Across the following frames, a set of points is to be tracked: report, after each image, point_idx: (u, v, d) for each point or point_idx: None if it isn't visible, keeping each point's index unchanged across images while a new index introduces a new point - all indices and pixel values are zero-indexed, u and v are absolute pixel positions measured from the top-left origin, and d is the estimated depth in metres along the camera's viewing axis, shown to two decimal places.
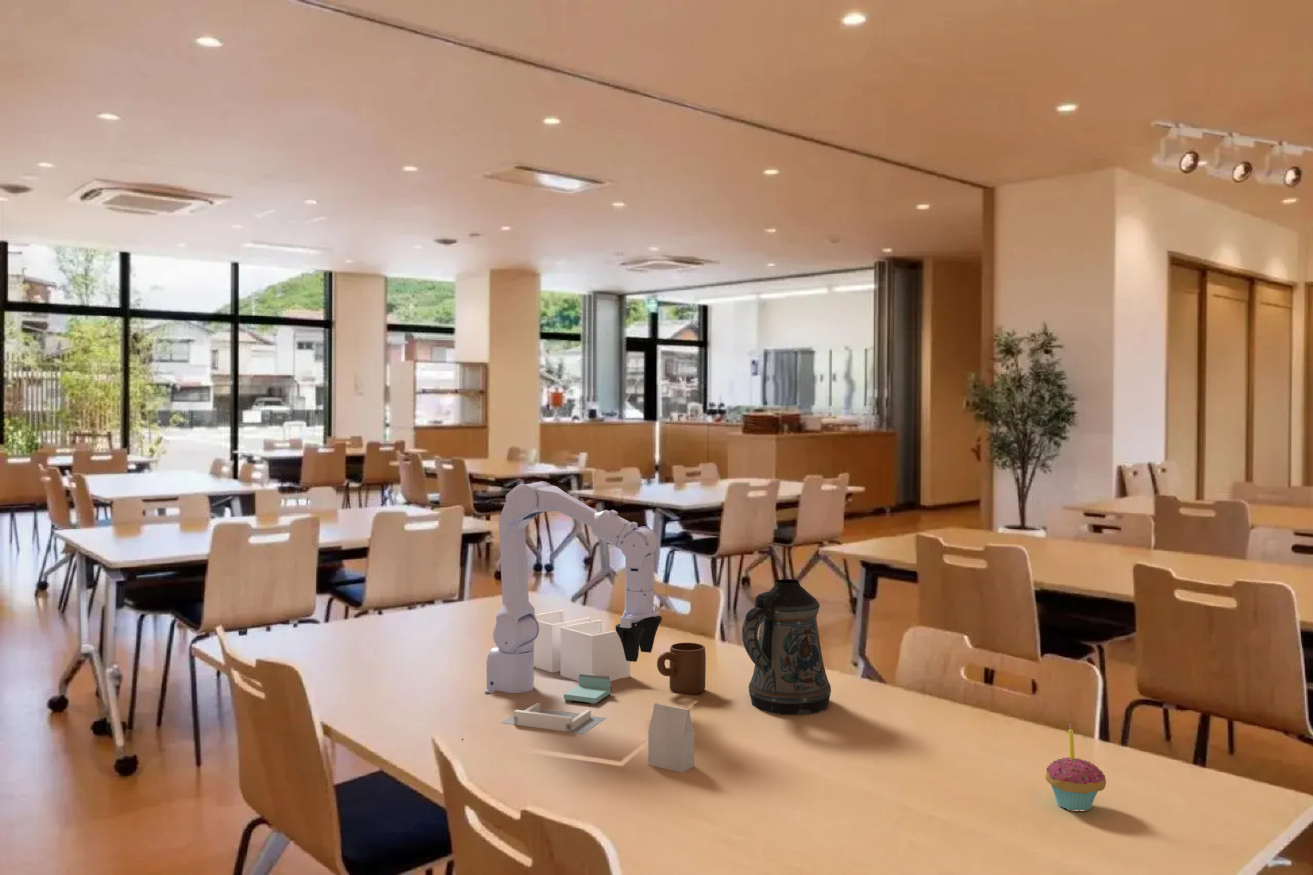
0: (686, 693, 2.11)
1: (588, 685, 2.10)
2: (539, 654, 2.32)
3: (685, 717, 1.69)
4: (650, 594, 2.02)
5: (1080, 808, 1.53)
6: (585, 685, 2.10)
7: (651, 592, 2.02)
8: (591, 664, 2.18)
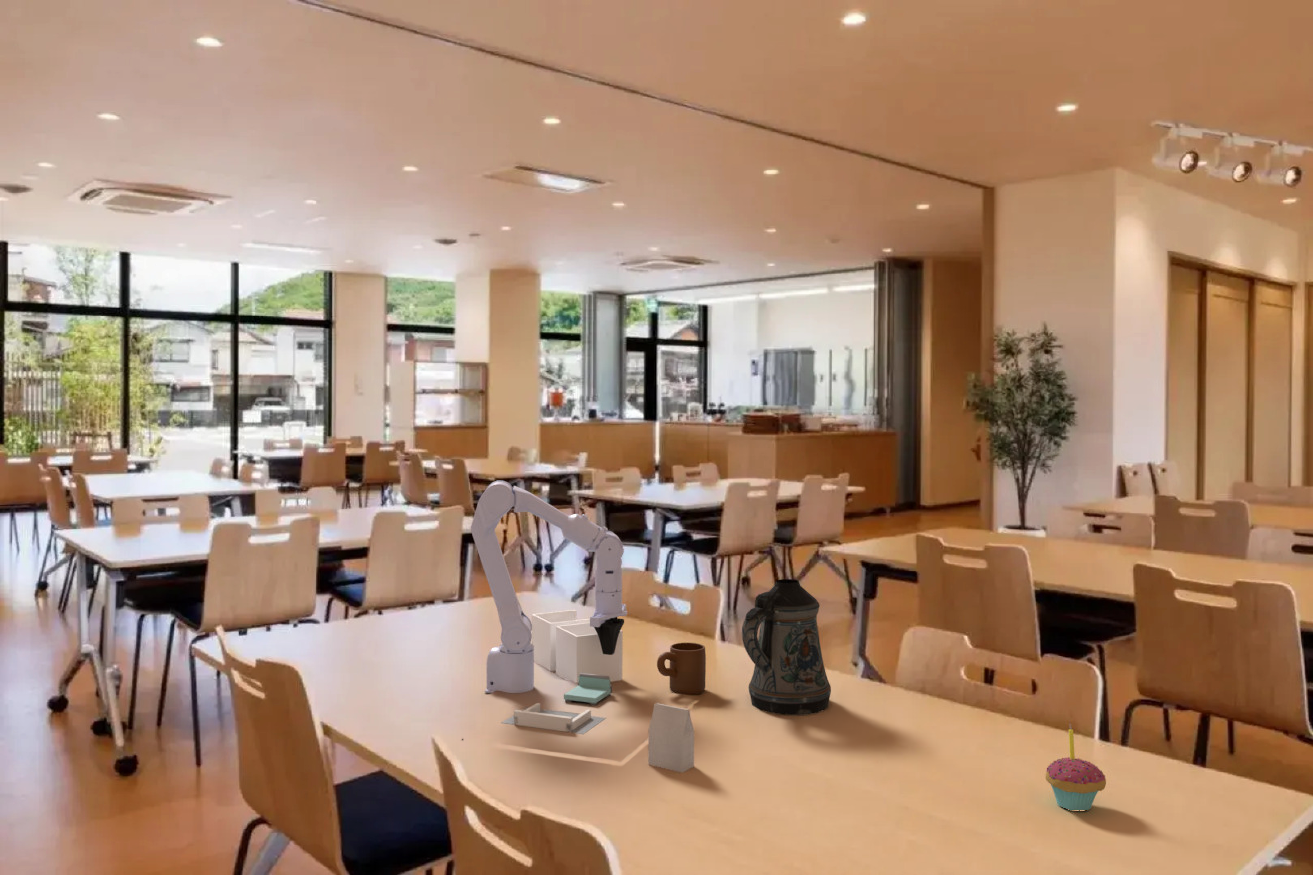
0: (686, 693, 2.11)
1: (588, 685, 2.10)
2: (542, 652, 2.34)
3: (685, 717, 1.69)
4: (618, 595, 2.14)
5: (1080, 808, 1.53)
6: (585, 685, 2.10)
7: (619, 593, 2.14)
8: (576, 665, 2.18)
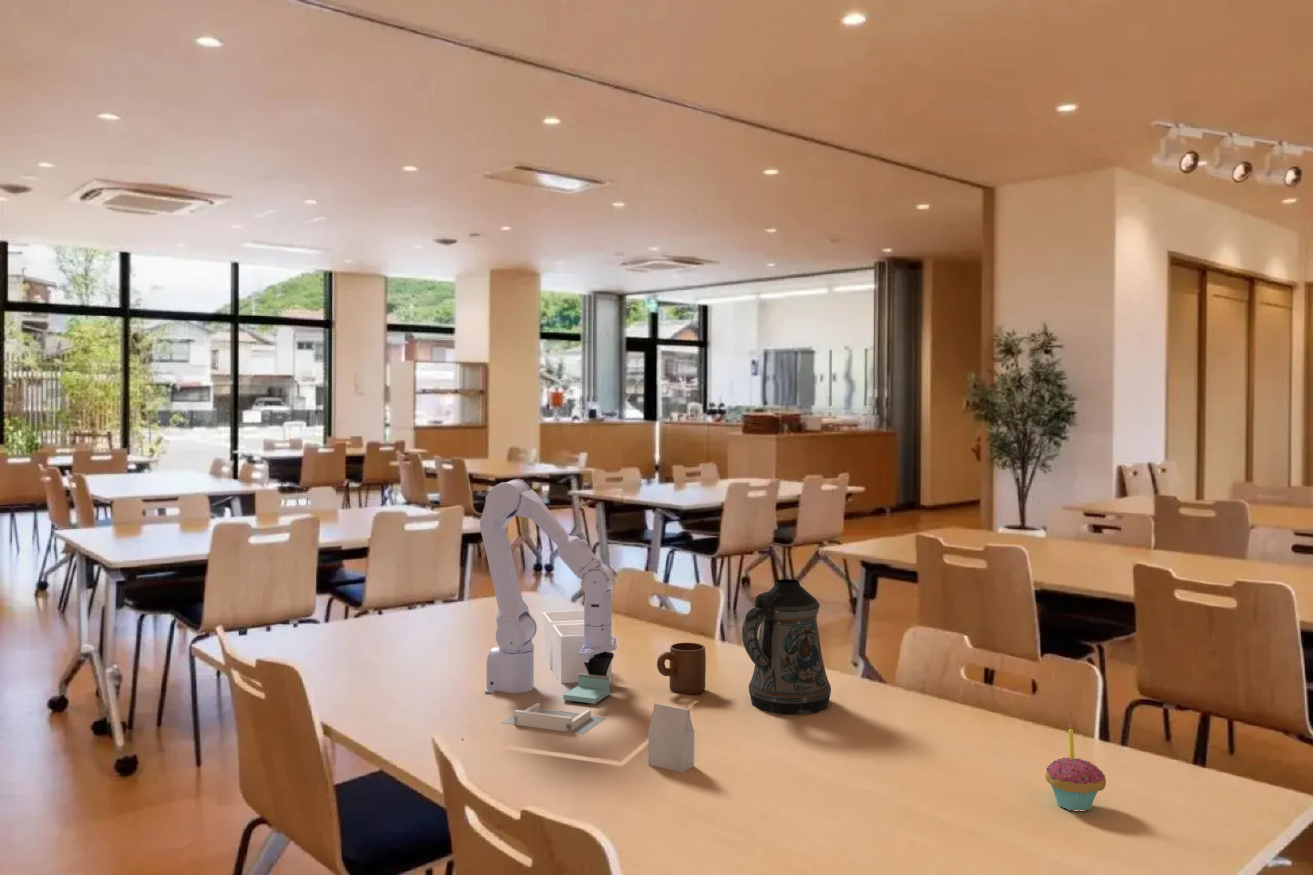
0: (686, 693, 2.11)
1: (587, 685, 2.10)
2: (547, 650, 2.36)
3: (685, 717, 1.69)
4: (608, 629, 2.09)
5: (1080, 808, 1.53)
6: (584, 685, 2.10)
7: (609, 627, 2.09)
8: (561, 665, 2.18)
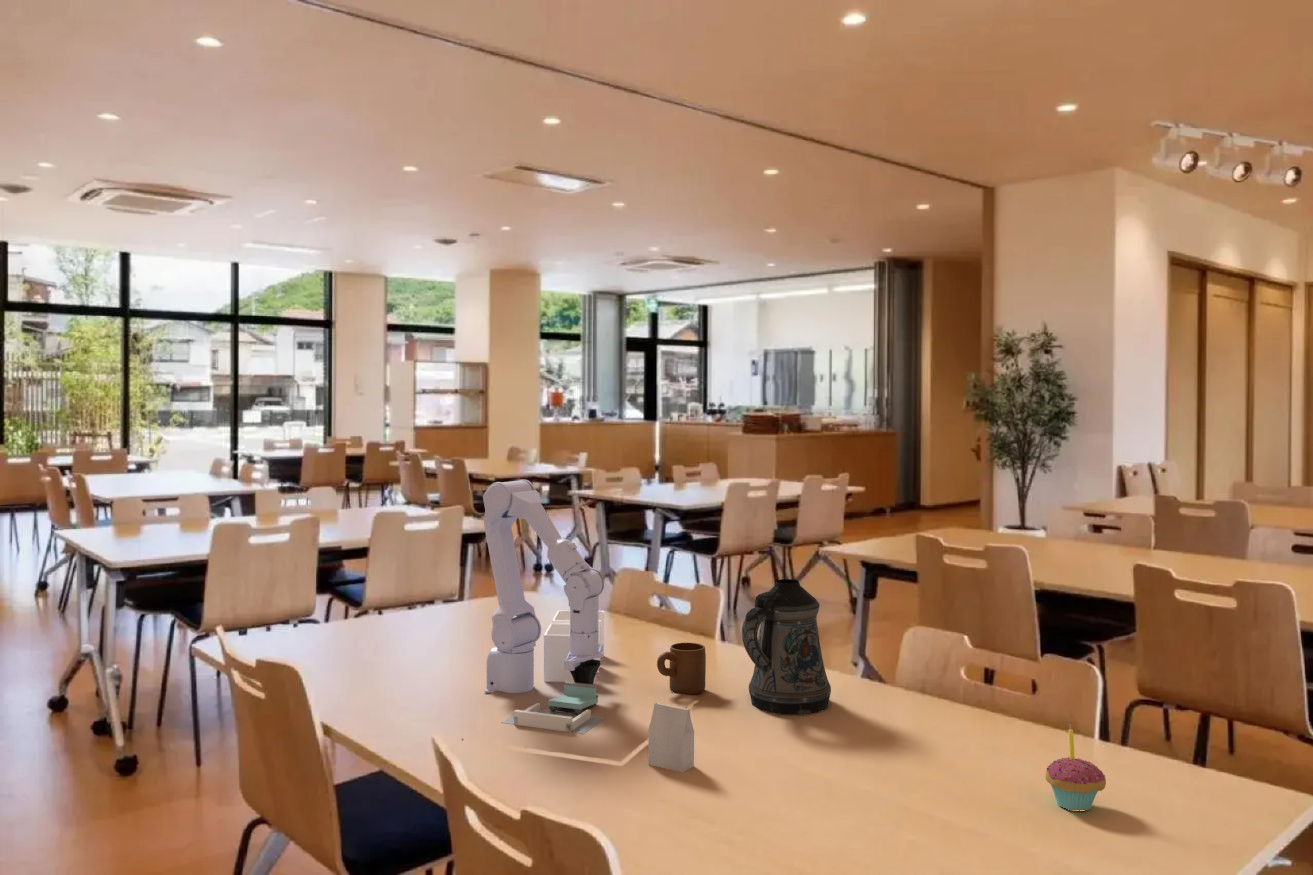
0: (686, 693, 2.11)
1: (573, 694, 2.03)
2: None
3: (685, 717, 1.69)
4: (594, 636, 2.03)
5: (1080, 808, 1.53)
6: (570, 694, 2.03)
7: (595, 634, 2.03)
8: (544, 663, 2.19)
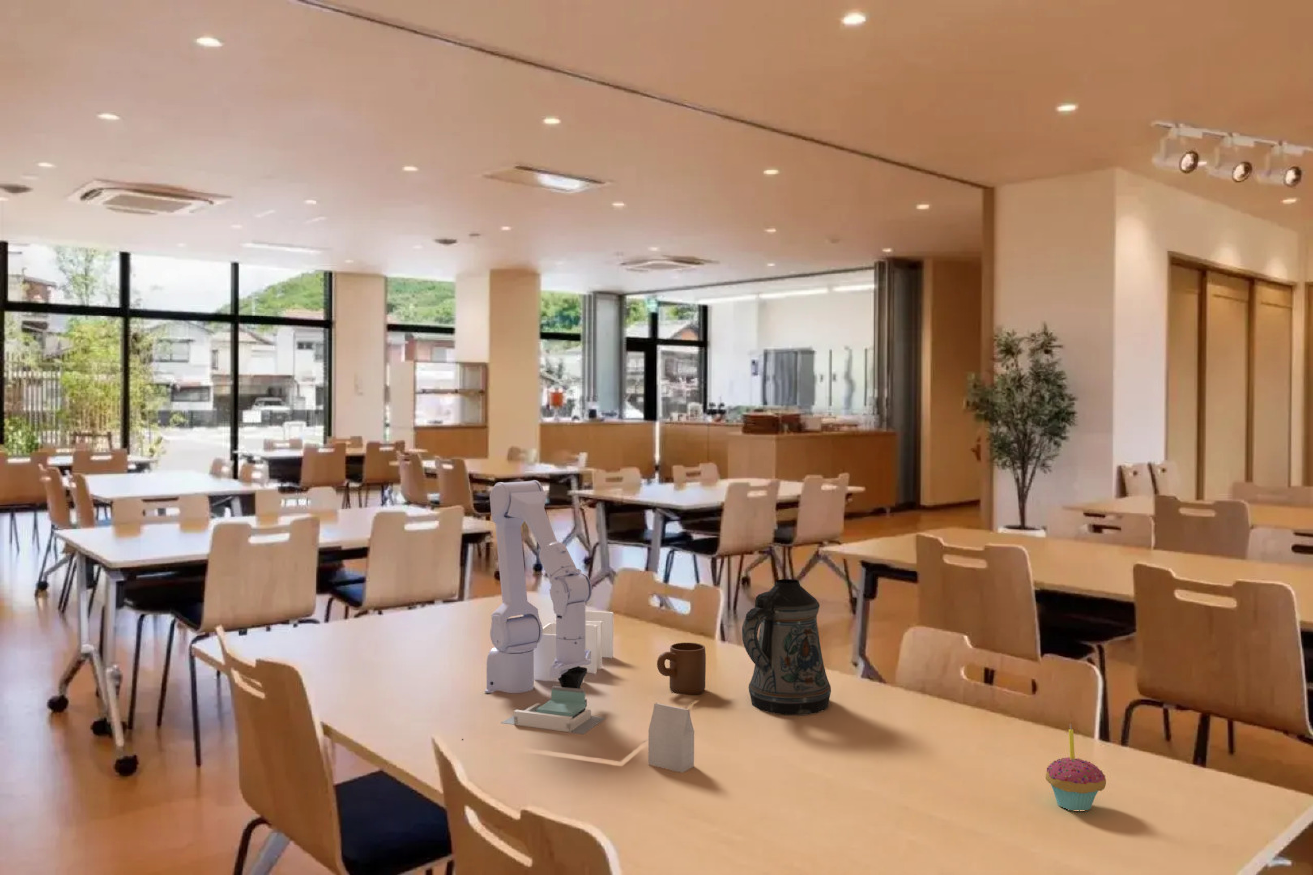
0: (686, 693, 2.11)
1: (561, 699, 1.98)
2: None
3: (685, 717, 1.69)
4: (581, 642, 1.97)
5: (1080, 808, 1.53)
6: (558, 699, 1.98)
7: (582, 640, 1.97)
8: None
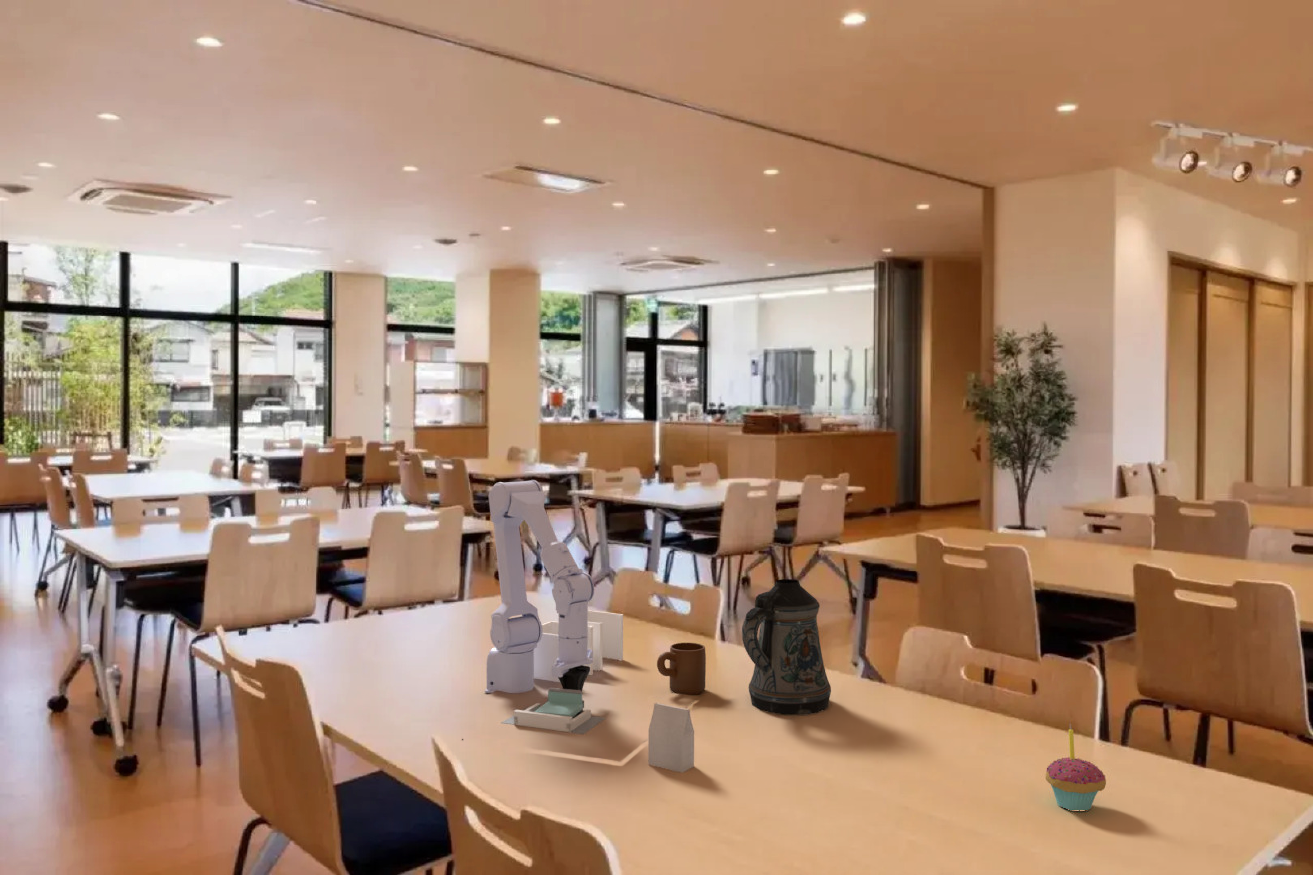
0: (686, 693, 2.11)
1: (558, 701, 1.97)
2: None
3: (685, 717, 1.69)
4: (583, 641, 1.98)
5: (1080, 808, 1.53)
6: (555, 701, 1.97)
7: (584, 639, 1.98)
8: None
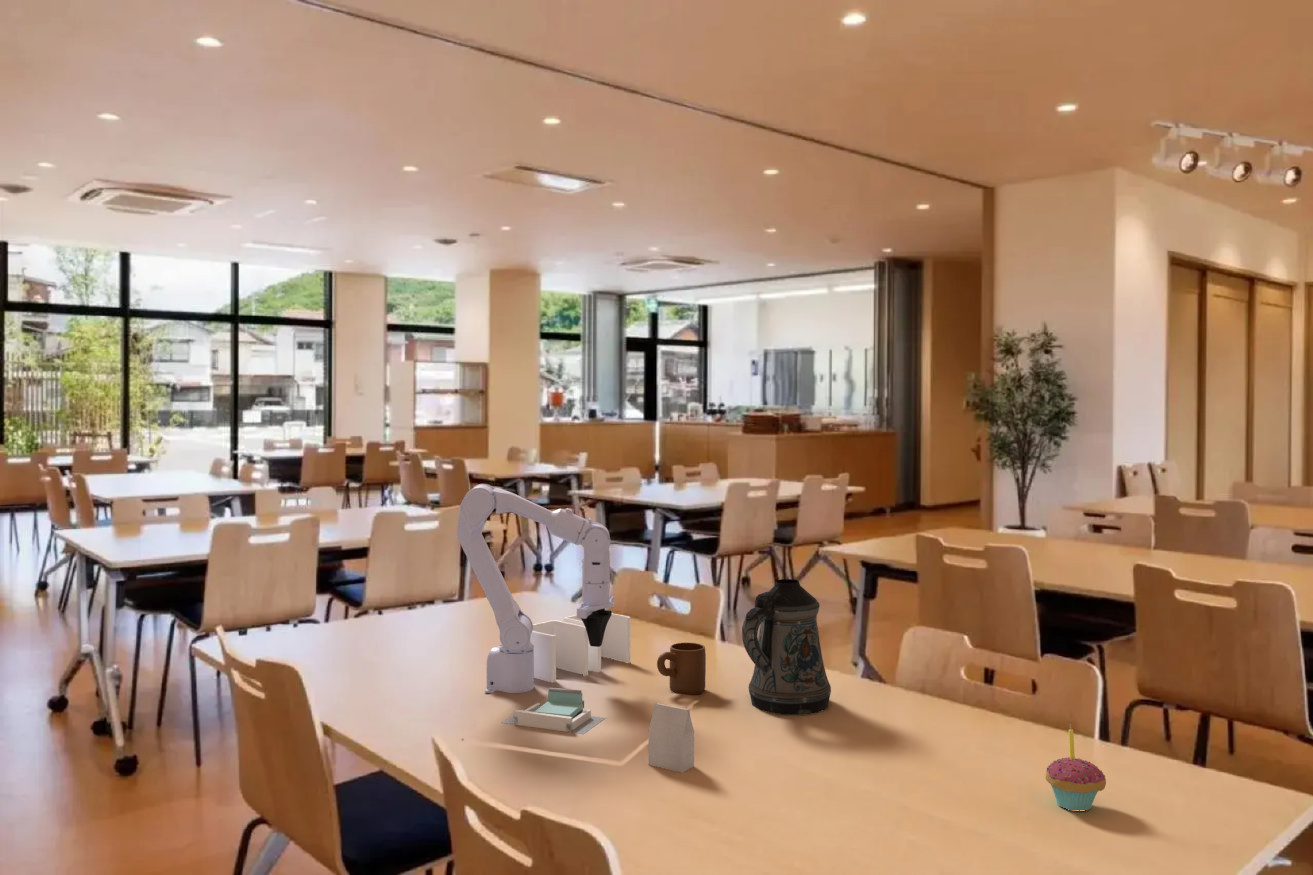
0: (686, 693, 2.11)
1: (558, 701, 1.97)
2: None
3: (685, 717, 1.69)
4: (606, 586, 2.13)
5: (1080, 808, 1.53)
6: (555, 701, 1.97)
7: (607, 584, 2.13)
8: None
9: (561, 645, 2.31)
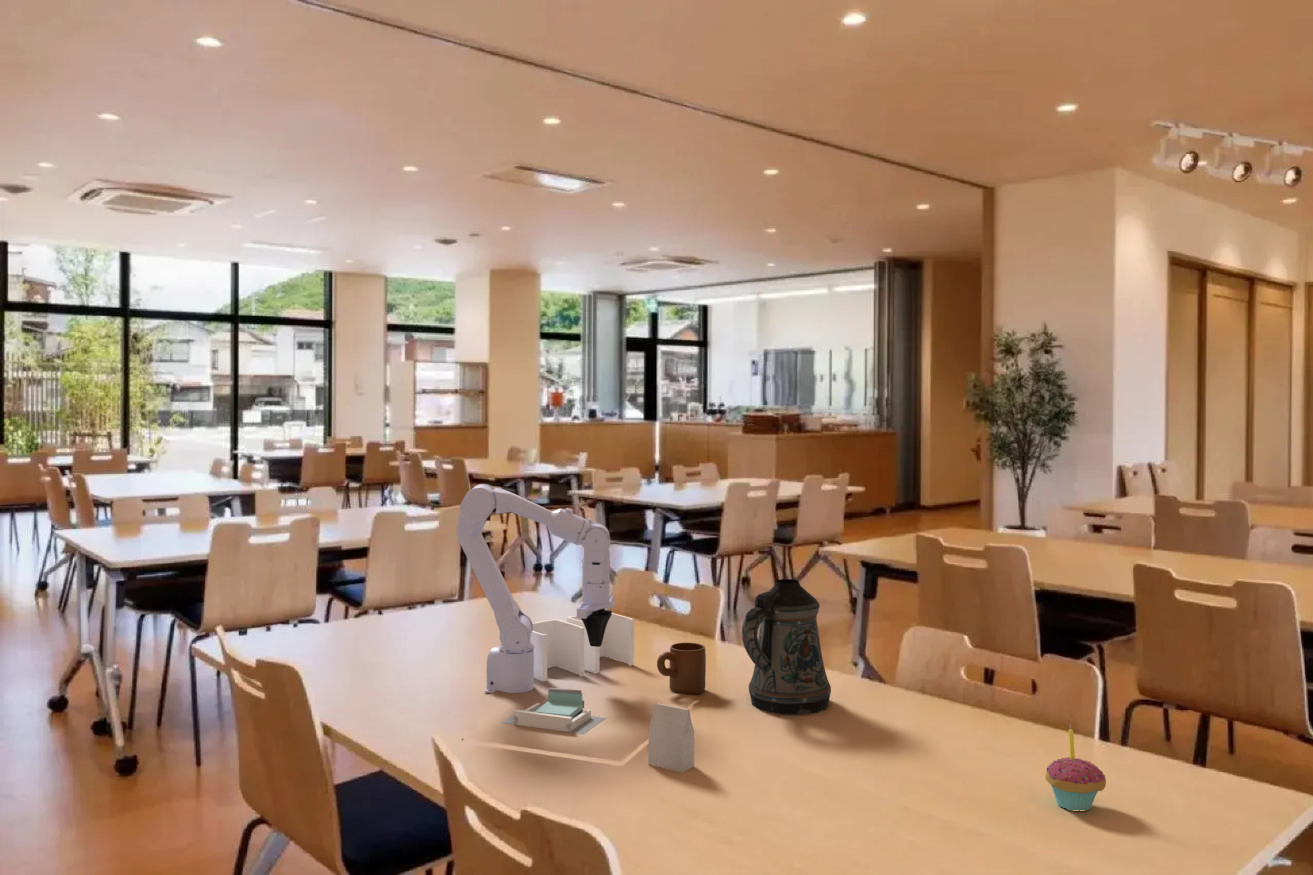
0: (686, 693, 2.11)
1: (558, 701, 1.97)
2: None
3: (685, 717, 1.69)
4: (606, 586, 2.13)
5: (1080, 808, 1.53)
6: (555, 701, 1.97)
7: (607, 584, 2.13)
8: None
9: (561, 645, 2.32)
